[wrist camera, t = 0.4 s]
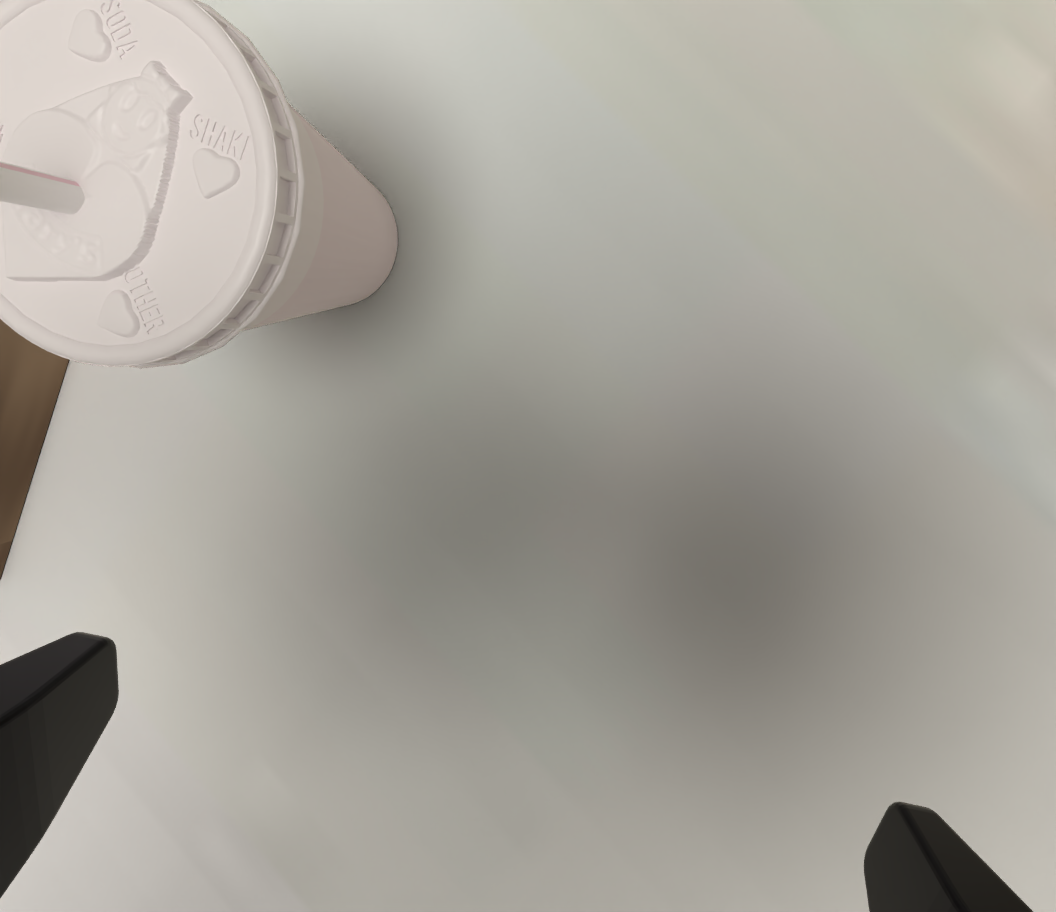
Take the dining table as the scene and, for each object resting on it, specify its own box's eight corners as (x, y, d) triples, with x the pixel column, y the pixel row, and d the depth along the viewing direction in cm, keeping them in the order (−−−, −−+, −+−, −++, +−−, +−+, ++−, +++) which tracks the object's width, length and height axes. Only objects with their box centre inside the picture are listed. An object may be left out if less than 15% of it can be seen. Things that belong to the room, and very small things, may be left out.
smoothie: (186, 238, 23) (-500, 105, 10) (332, 66, 22) (-231, -379, 8) (337, 400, 23) (-136, 500, 10) (493, 239, 22) (200, 86, 8)
